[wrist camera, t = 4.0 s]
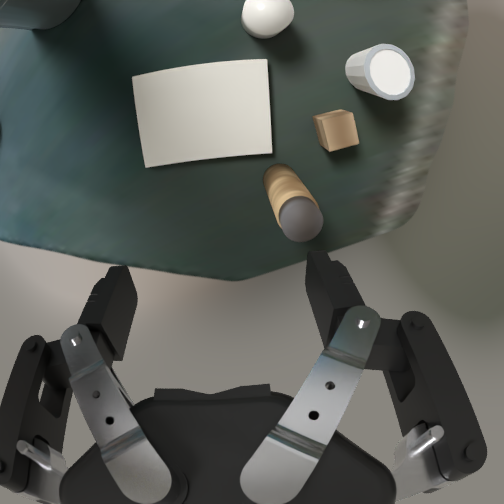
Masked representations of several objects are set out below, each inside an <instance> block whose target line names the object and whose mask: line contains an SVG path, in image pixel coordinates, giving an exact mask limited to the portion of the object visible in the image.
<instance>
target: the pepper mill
mask: <svg viewBox="0 0 504 504" xmlns="http://www.w3.org/2000/svg"><path fill="white" fill-rule="evenodd" d="M263 184H264V187H265V189H266V192H267V195H268V197H269V200H270V203H271V206H272V208H273V211H274V214H275V216H276V219H277V222H278V224H279V226H280V227H281V228H282V230H283V232H284V234H285V235H286V236H287V237H288V238H289V239H290V240H292V241H296V242H305V241H308V240H311V239H313V238H314V237H315V236H317V234H318V233H319V232H320V231H321V229H322V226H323V216H322V213H321V212H320V210H319V207H318V204H317V202H316V201H315V200H314V198H313V197H312V195H311V194H310V193H309V191H308V190H307V188H306V187H305V186H304V184H303V183H302V182H301V180H300V179H299V178H298V176H297V175H296V173H295V172H294V171H293V169H292V168H291V167H289V166H288V165H285V164H275V165H272V166H270V167H269V168H268V169H267V170H266V171H265V173H264V176H263Z"/></svg>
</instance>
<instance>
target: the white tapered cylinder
mask: <svg viewBox="0 0 504 504" xmlns="http://www.w3.org/2000/svg"><path fill="white" fill-rule="evenodd" d="M345 70H346V76H347V78H348V80H349V82H350V83H351V84H352V85H353V86H354V87H355V88H357V89H359V90H362V91H364V92H367V93H370V94H373V95H376V96H379V97H382V98H385V99H387V100H399V99H401V98H403V97H405V96H407V95H408V93H409V92H410V91H411V90H412V88H413V84H414V80H415V76H414V68H413V65H412V63H411V61H410V59H409V57H408V56H407V55H406V54H405V53H404V52H403V51H402V50H401V49H399V48H397V47H396V46H394V45H390V44H380V45H377V46H374V47H371V48H369V49H366V50H363V51H361V52H358V53H356V54H353V55H351V57H350V58H349V59H348V60H347V63H346V67H345Z"/></svg>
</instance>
